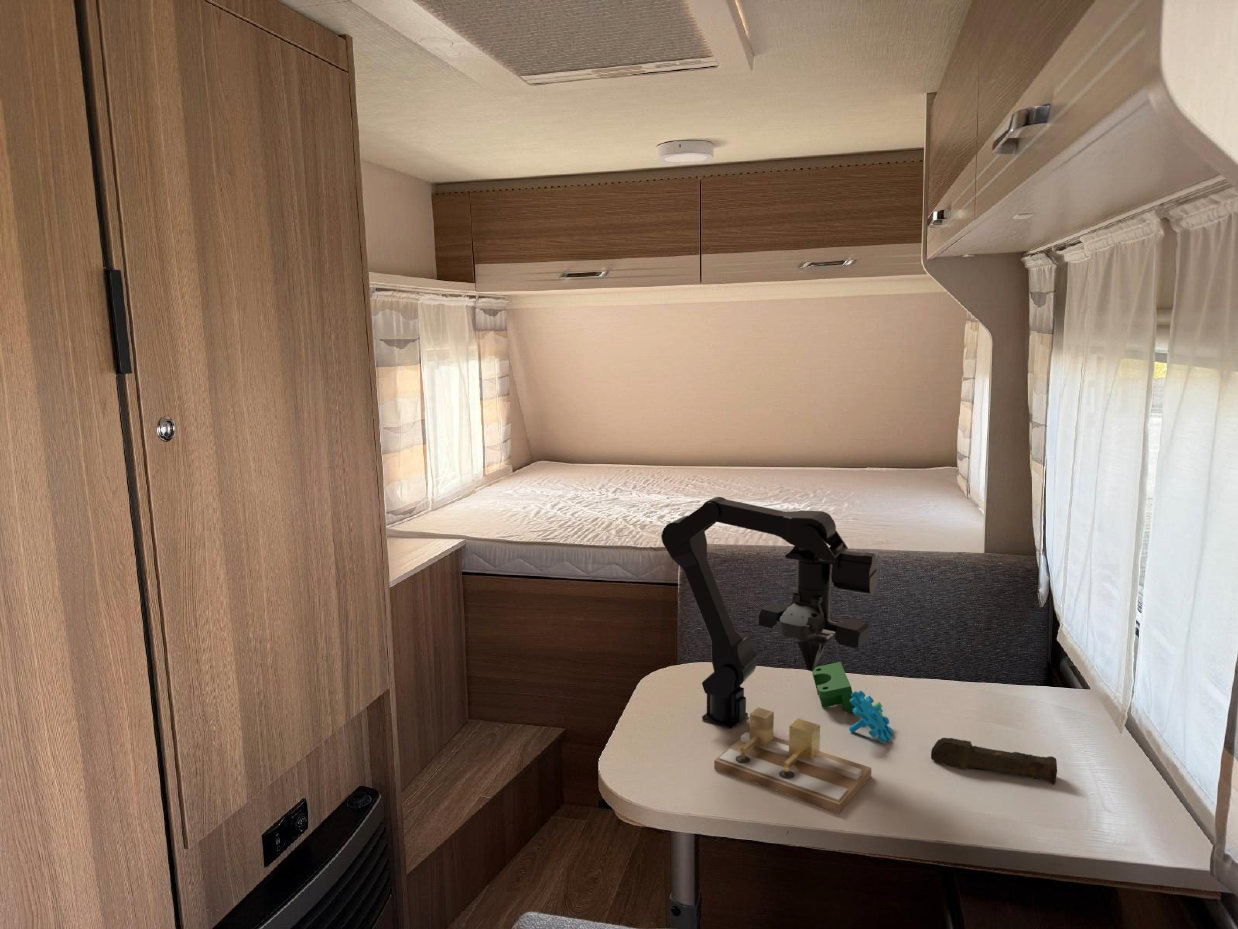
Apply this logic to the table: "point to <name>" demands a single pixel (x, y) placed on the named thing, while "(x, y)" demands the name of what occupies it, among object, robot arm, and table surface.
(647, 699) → the table surface
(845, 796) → the wooden base with blocks
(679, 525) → the robot arm
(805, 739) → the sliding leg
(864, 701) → the gear
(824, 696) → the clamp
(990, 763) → the hand tool
